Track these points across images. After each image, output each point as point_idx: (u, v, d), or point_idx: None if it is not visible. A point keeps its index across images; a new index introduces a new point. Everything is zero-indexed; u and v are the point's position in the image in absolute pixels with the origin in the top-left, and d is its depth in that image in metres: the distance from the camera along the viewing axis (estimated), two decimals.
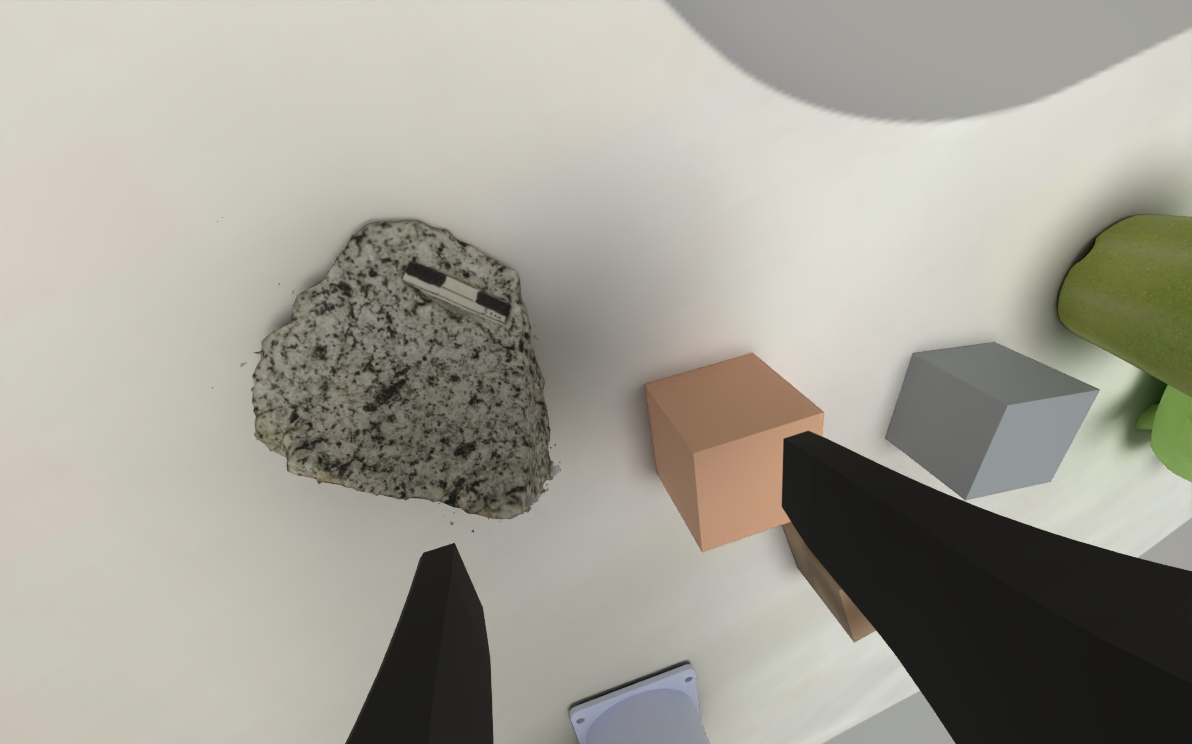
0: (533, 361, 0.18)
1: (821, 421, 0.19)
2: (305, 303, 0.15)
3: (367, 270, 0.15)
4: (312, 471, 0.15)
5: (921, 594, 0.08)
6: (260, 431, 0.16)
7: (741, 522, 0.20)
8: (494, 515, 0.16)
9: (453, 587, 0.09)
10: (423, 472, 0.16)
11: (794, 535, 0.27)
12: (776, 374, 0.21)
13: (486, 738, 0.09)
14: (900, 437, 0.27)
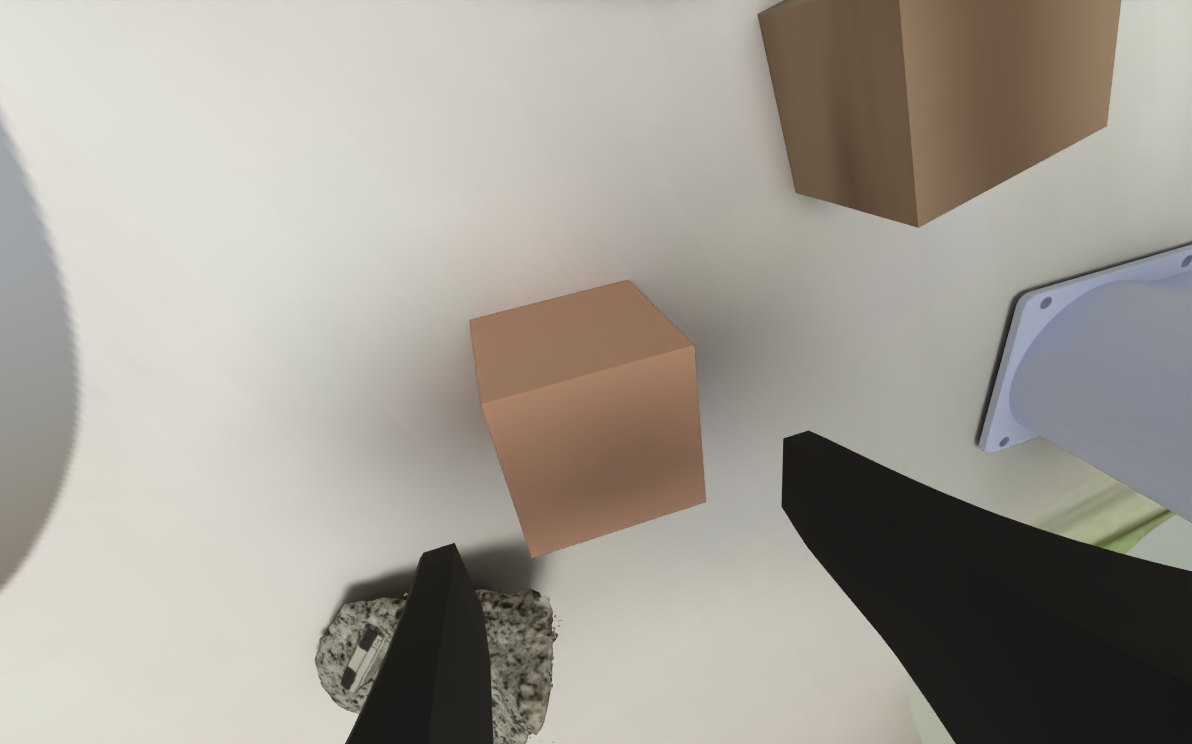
0: None
1: (500, 397, 0.11)
2: None
3: (353, 702, 0.20)
4: None
5: (921, 594, 0.08)
6: None
7: (670, 465, 0.14)
8: None
9: (453, 587, 0.09)
10: (504, 733, 0.18)
11: (823, 198, 0.15)
12: None
13: (486, 738, 0.09)
14: None
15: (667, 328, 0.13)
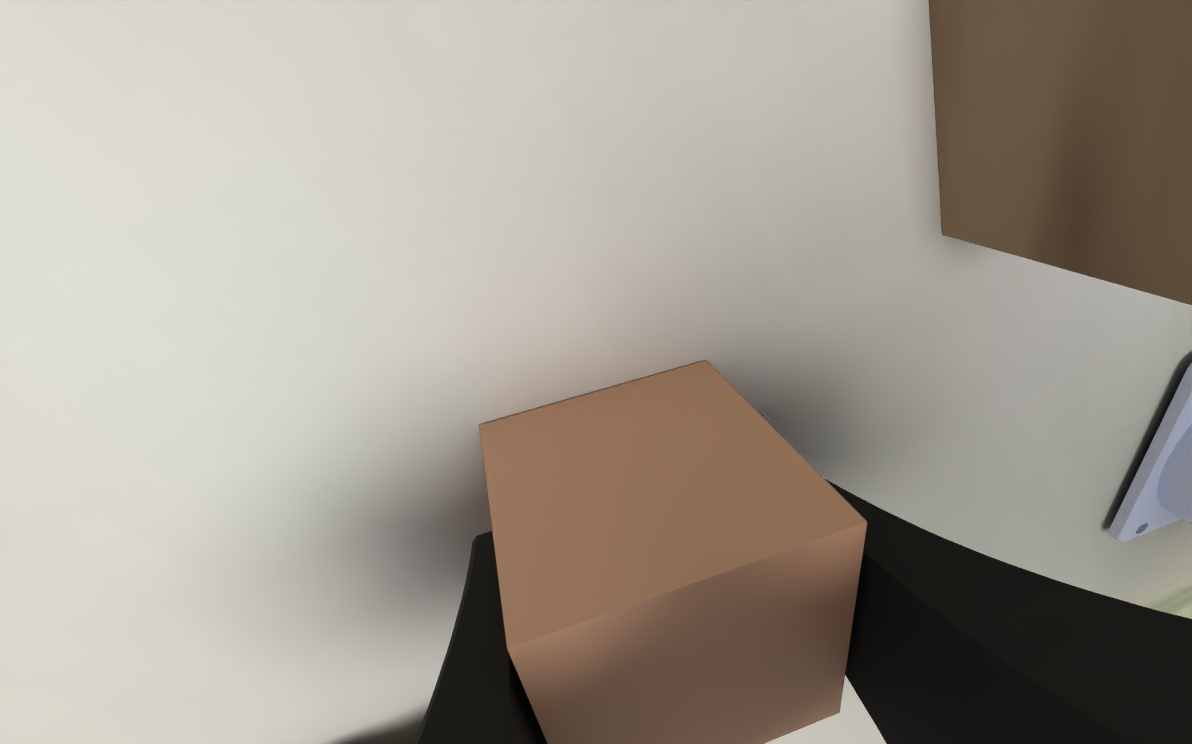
0: None
1: (542, 631, 0.06)
2: None
3: None
4: None
5: (864, 616, 0.08)
6: None
7: (798, 679, 0.09)
8: None
9: None
10: None
11: (1000, 247, 0.10)
12: (488, 494, 0.09)
13: None
14: None
15: (803, 474, 0.08)
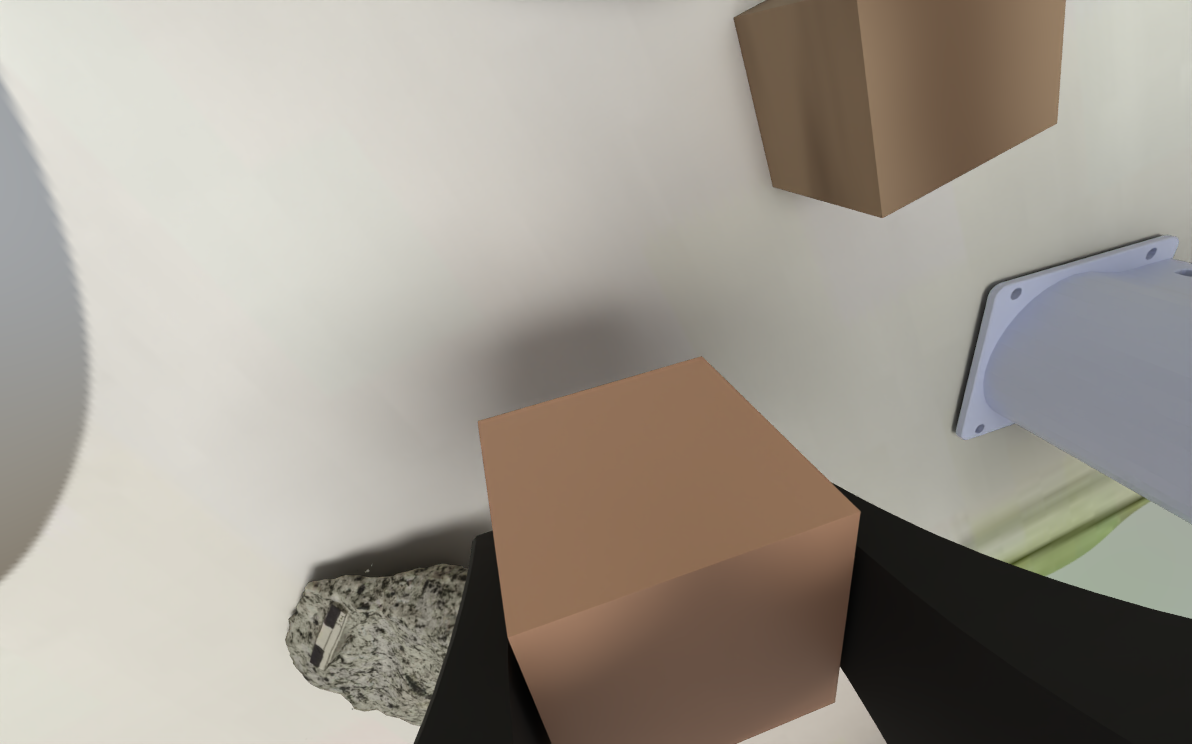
0: (385, 587, 0.18)
1: (541, 620, 0.07)
2: (359, 706, 0.21)
3: (325, 680, 0.20)
4: None
5: (864, 616, 0.08)
6: None
7: (794, 668, 0.09)
8: None
9: None
10: None
11: (798, 192, 0.16)
12: (487, 488, 0.09)
13: None
14: None
15: (798, 466, 0.08)
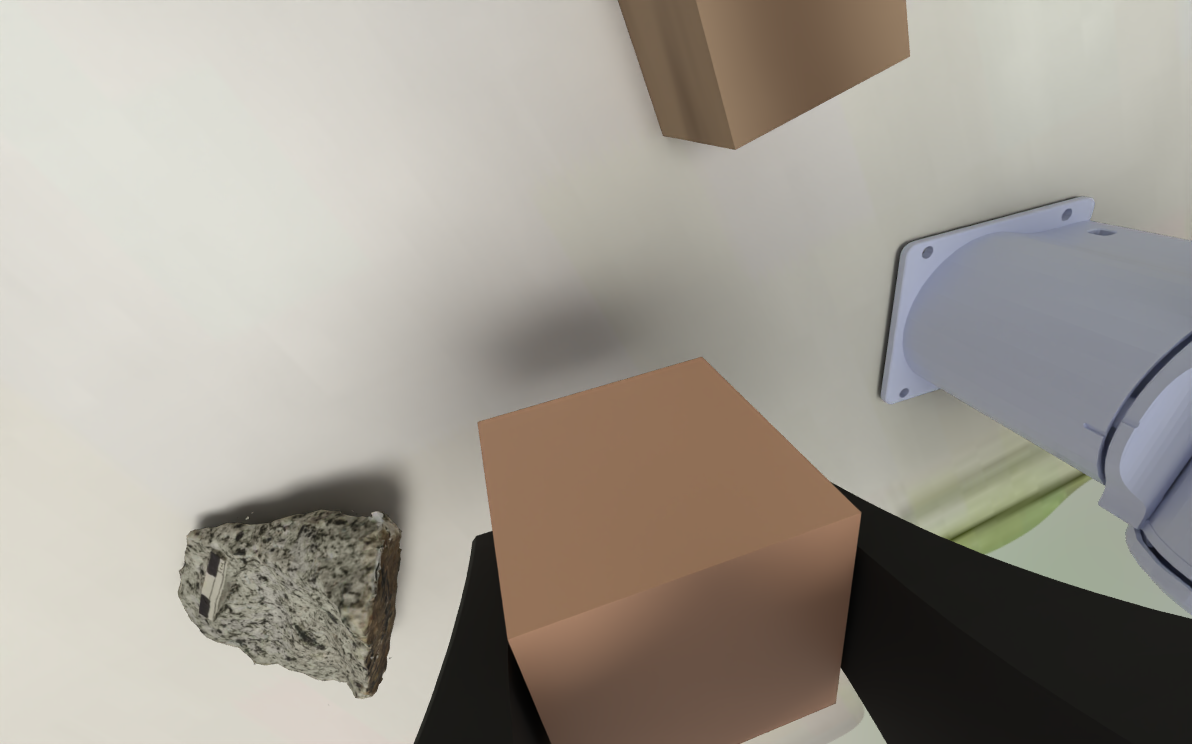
0: (262, 532, 0.18)
1: (541, 622, 0.07)
2: (258, 660, 0.21)
3: (218, 632, 0.20)
4: None
5: (864, 616, 0.08)
6: None
7: (795, 670, 0.09)
8: (363, 635, 0.16)
9: None
10: (349, 649, 0.18)
11: (680, 137, 0.16)
12: (487, 490, 0.09)
13: None
14: None
15: (798, 467, 0.08)
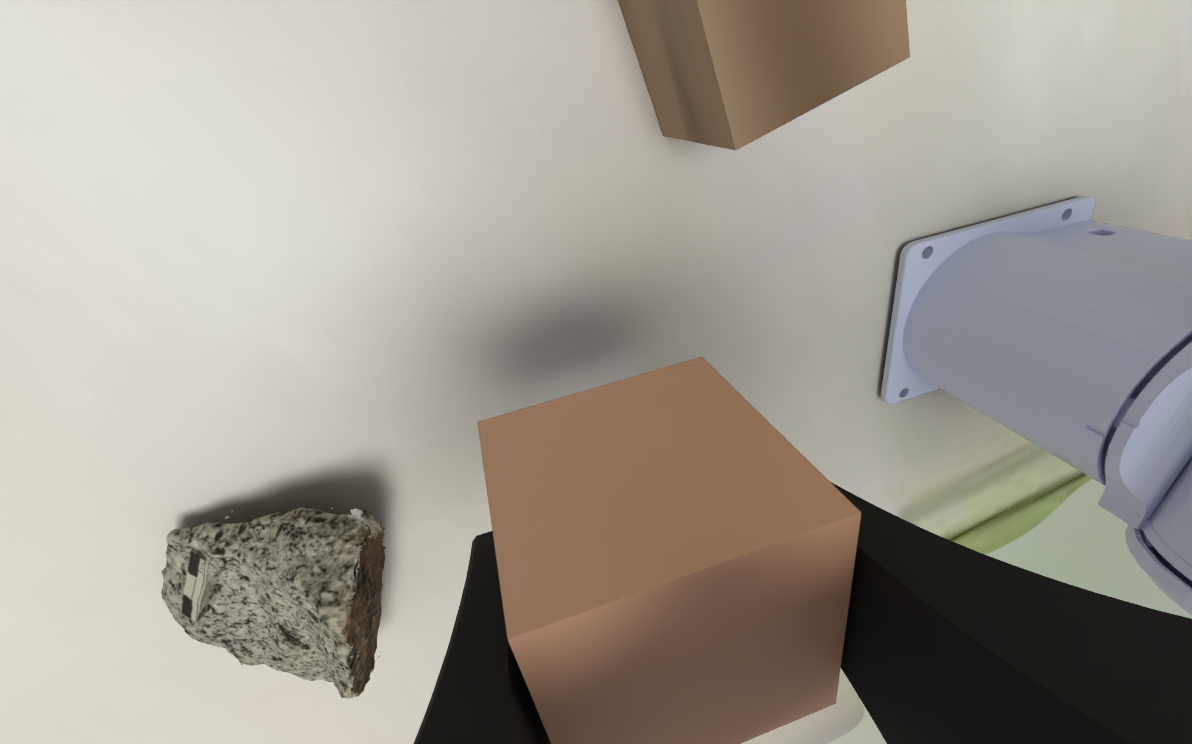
0: (242, 532, 0.18)
1: (541, 622, 0.07)
2: (244, 660, 0.21)
3: (203, 633, 0.20)
4: None
5: (864, 616, 0.08)
6: None
7: (795, 670, 0.09)
8: (342, 634, 0.16)
9: None
10: (331, 648, 0.18)
11: (680, 137, 0.16)
12: (487, 490, 0.09)
13: None
14: None
15: (798, 467, 0.08)
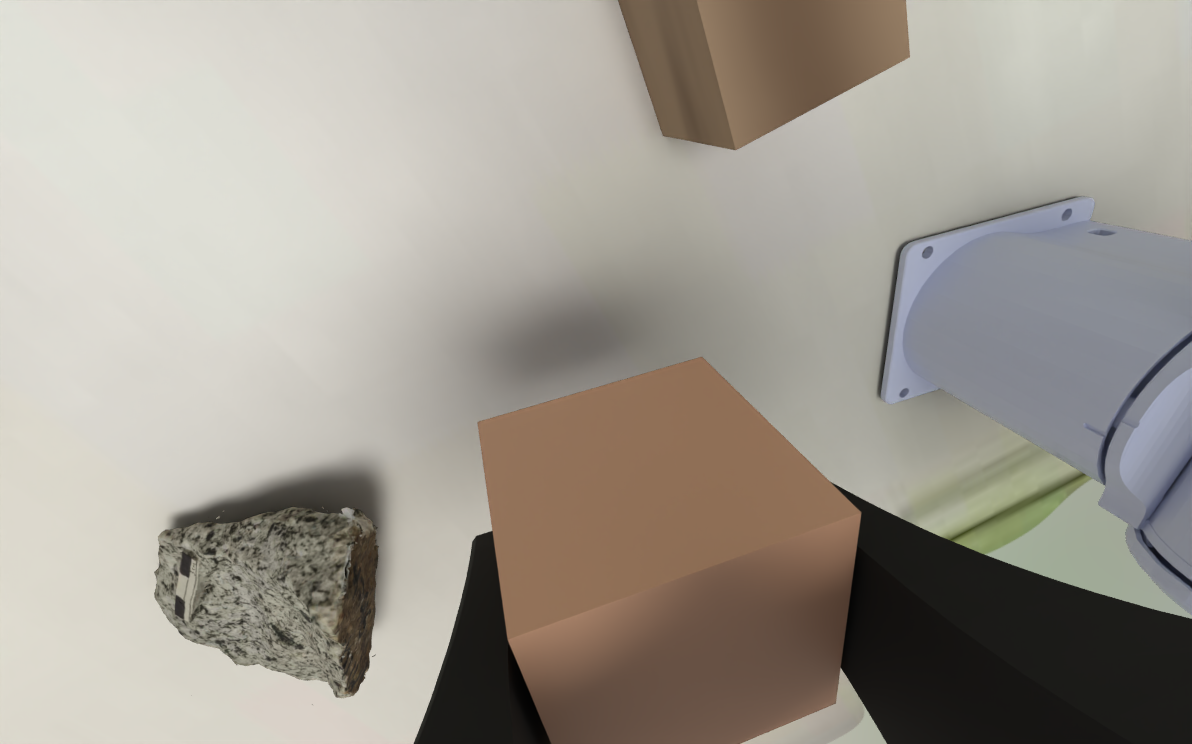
0: (233, 532, 0.17)
1: (541, 622, 0.07)
2: (239, 660, 0.21)
3: (196, 633, 0.20)
4: None
5: (864, 616, 0.08)
6: None
7: (795, 670, 0.09)
8: (333, 633, 0.16)
9: None
10: (324, 648, 0.18)
11: (680, 137, 0.16)
12: (487, 490, 0.09)
13: None
14: None
15: (798, 467, 0.08)
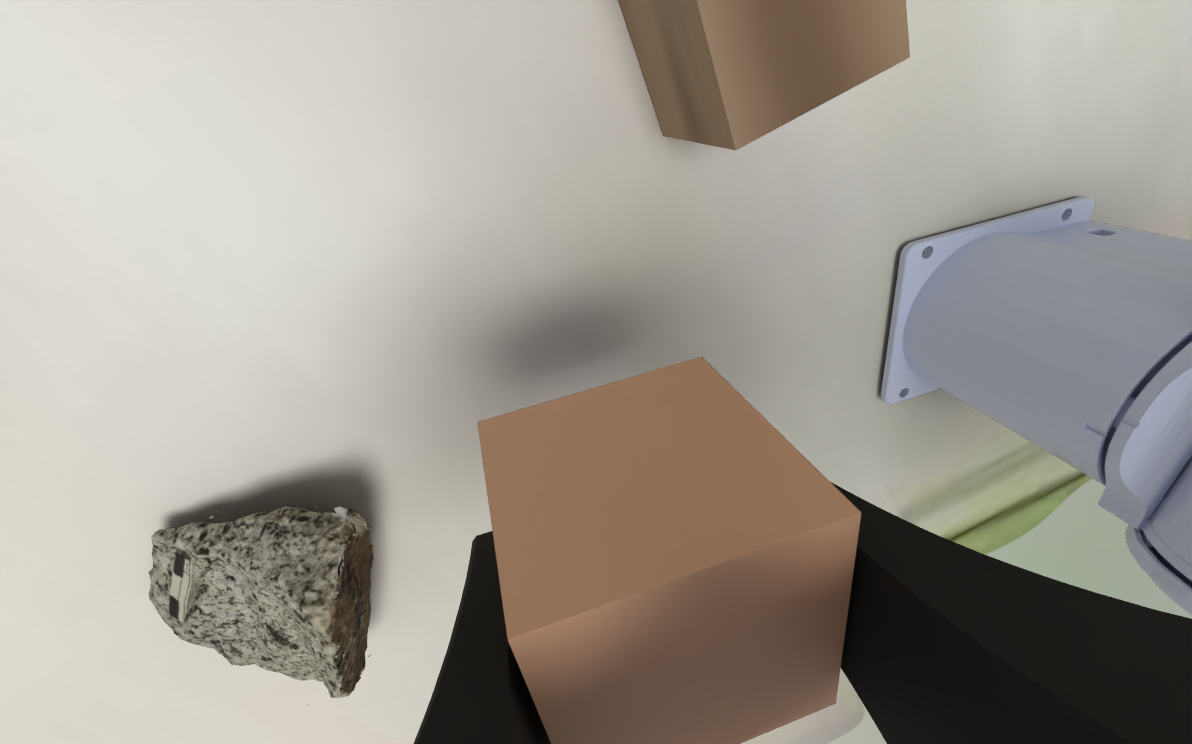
0: (226, 531, 0.17)
1: (541, 622, 0.07)
2: (234, 660, 0.20)
3: (191, 633, 0.20)
4: None
5: (864, 616, 0.08)
6: None
7: (795, 670, 0.09)
8: (326, 633, 0.16)
9: None
10: (318, 648, 0.18)
11: (680, 137, 0.16)
12: (487, 490, 0.09)
13: None
14: None
15: (798, 467, 0.08)
